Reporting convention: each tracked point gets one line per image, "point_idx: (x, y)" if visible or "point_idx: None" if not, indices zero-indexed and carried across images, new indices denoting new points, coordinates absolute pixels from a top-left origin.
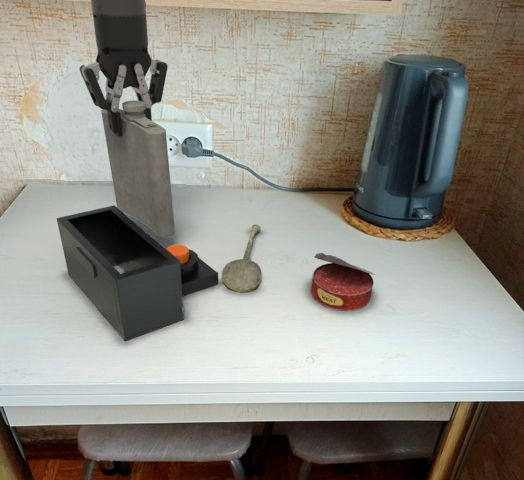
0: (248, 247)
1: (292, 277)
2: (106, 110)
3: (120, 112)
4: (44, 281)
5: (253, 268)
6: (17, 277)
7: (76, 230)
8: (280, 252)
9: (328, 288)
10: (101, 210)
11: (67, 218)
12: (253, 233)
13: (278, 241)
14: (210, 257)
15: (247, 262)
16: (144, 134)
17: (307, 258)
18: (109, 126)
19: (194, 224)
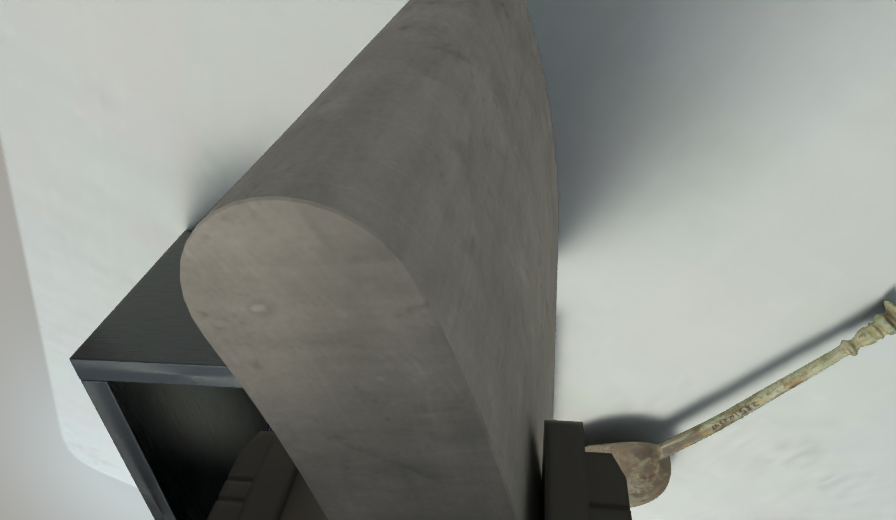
0: (722, 424)
1: (726, 504)
2: (248, 283)
3: (389, 411)
4: (117, 226)
5: (632, 504)
6: (39, 169)
7: (135, 449)
8: (821, 424)
9: None
10: (233, 382)
11: (107, 378)
12: (828, 365)
13: (888, 381)
14: (614, 348)
15: (635, 491)
16: None
17: (852, 476)
18: (237, 466)
19: (747, 130)
